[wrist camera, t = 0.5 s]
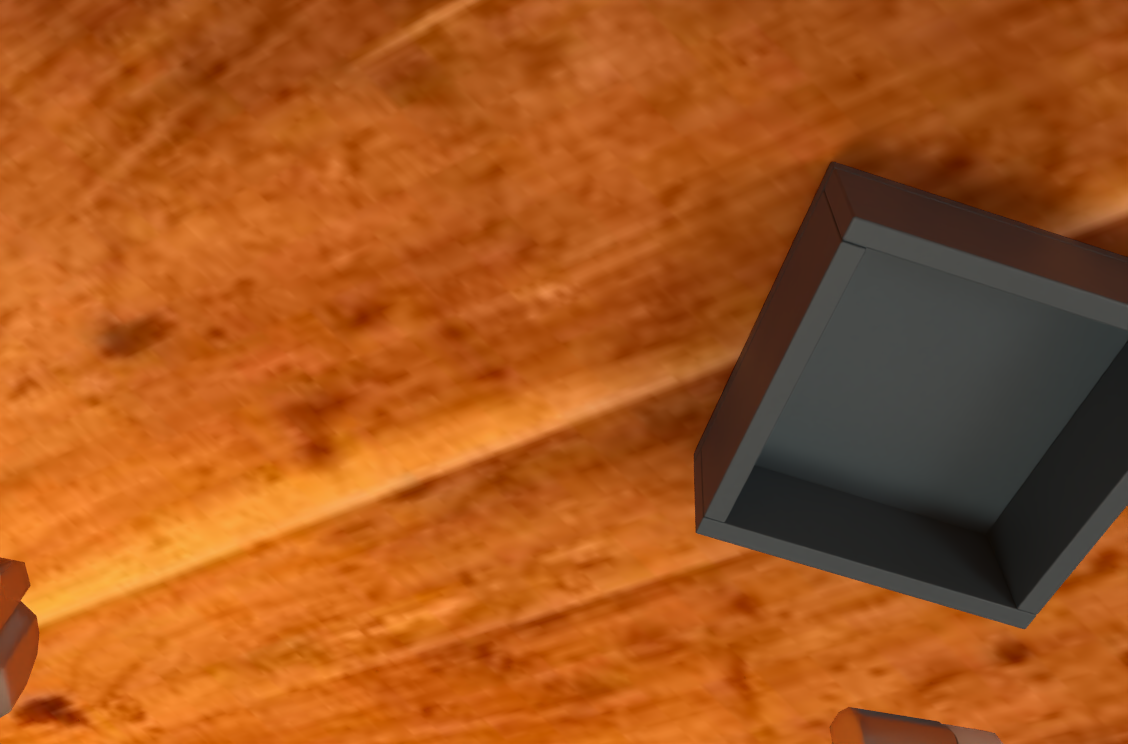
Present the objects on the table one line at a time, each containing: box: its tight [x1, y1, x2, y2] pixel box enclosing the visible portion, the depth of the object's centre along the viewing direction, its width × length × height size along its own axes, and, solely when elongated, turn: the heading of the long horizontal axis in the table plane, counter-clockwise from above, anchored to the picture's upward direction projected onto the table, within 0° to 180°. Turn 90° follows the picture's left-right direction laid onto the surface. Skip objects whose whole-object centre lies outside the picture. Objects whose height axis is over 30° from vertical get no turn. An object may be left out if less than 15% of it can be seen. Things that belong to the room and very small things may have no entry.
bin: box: [694, 162, 1128, 629], centre depth 32 cm, size 13×13×5 cm
